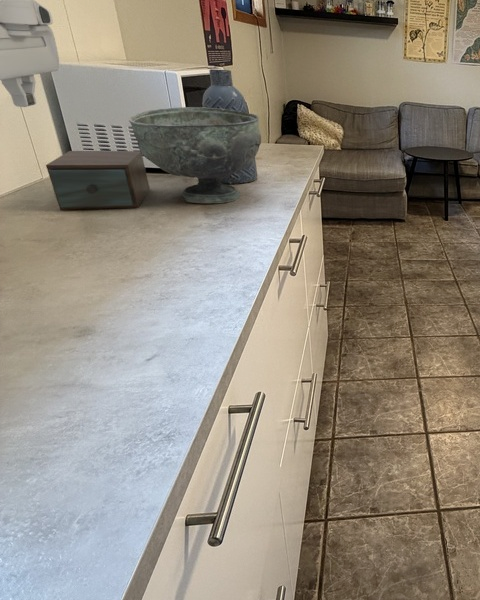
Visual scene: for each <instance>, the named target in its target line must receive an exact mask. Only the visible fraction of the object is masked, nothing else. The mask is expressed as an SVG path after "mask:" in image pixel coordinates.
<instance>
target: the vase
mask: <svg viewBox="0 0 480 600" xmlns="http://www.w3.org/2000/svg"><path fill="white" fill-rule="evenodd" d="M208 71H209V77H210V85H209V87H207V88H206V90H205V91H204V93H203V95H202V107H206V108H217V109H227V110H235V111H238V112H245V113H248V114H249V110H248V109H249V108H248V106H247V102H246V99H245V97H244V96H243V94H242V93H241V92H240V90H239V89H238V88H236V87H235V86H234V84H233V77H232V71H231V70H230V69H213V68H211V69H210V68H209V70H208ZM257 179H258V168H257V161H256V157H255V158H254V159H253V160H252V161H251V163H250V164H248V165H247V166H246V167H245V168H243V169H242V170H240V171H238V172H236V173H233V174H231V175H228V176H224V177H219V181H220V182H221V183H223V184H228V185H237V184H246V183H251V182H255V181H256V180H257Z"/></svg>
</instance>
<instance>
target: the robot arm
mask: <svg viewBox="0 0 480 600" xmlns="http://www.w3.org/2000/svg"><path fill="white" fill-rule="evenodd" d="M53 23H54V21H53V16H52V13H51V11H50V10H49V9H48V8H46V7H45V6H43V5H42V4H40V2H38V1H37V0H0V82H1V84H2V85H3V87H4V88H5V89H6V91H7V92H8V94H10V96H11V100H12V103H13V105H14V106H15V107H18V108H27V107H31V106H34V105H36V104H37V100H36V95H35V89H36V79H35V75H41V74H46V73H47V74H48V73H51V72H58V71H59V68H60V67H59V66H60V57H59V52H58V47H57V43H56V39H55V35H54V32H53V29H52V28H51V26H50V25H52V24H53Z"/></svg>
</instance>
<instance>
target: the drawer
mask: <svg viewBox="0 0 480 600" xmlns="http://www.w3.org/2000/svg"><path fill="white" fill-rule="evenodd" d="M49 173H50V176H51V179H52V183H53V186H54V189H55V192H56V195H57V198H58V201H59V204H58V206H59V205H60V207H92V206H126V205H133V204H134V202H133V198H132V194H131V190H130V186H129V181H128V177H127V173H126V169H125V168H119V169H52V170H49ZM49 173H48V174H49ZM50 176H49V177H50ZM51 179H50V180H51ZM52 183H51V184H52ZM53 186H52V187H53ZM54 189H53V190H54ZM55 192H54V193H55ZM56 195H55V196H56ZM57 198H56V199H57ZM58 201H57V202H58Z"/></svg>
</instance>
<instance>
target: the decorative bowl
mask: <svg viewBox="0 0 480 600" xmlns="http://www.w3.org/2000/svg"><path fill="white" fill-rule="evenodd" d="M259 119H260V117H259V115H257V114H254V113H249V112H248V113H245V112H238V111H235V110H227V109H217V108H206V107H203V106H202V107H201V106H199V107H198V106H189V107H188V106H185V107H183V106H182V107H166V108H158V109H149V110H145V111H143V112H141V113H140V112H137V113H135V114H133V115H131V116H129V117H128V119H127V120H128V122H129V123H130V125H131V129H132V132H133V135H134V137H135V140H136V142H137V147H138V151H141V153H142V157H143V158H145V159H147V160H148V161H150V162H151V163H152V164H154V165H155V166H157V167H158V168H160V169H161V170H162V171H164V172H166V173H168V174H171V175H173V176H179V177H187V178H191V179H194V178H197V180H198V182H197V183H196V184H193V185H189V186H188V187H185V188H184V190H183V192H182V196H183V198H184V200H185V202H187V203H194V204H223V203H230V202H233V201H236V200H239V199H240V196H241V194H240V191H239V190H238V188H236V187H235V186H232V184H228V183H221V182H220V181H219V177H224V176H228V175H231V174H233V173H236V172H238V171H240V170H242V169H243V168H245V167H246V166H247V165H248V164H250V163H251V161H252V160H253V159H254V158H255V159H256V156H257V154H258V152H259V150H260V146H261V144H262V134H261V130H260V127H259Z"/></svg>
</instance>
